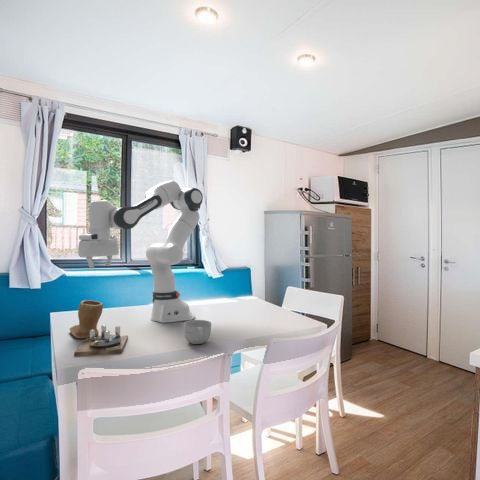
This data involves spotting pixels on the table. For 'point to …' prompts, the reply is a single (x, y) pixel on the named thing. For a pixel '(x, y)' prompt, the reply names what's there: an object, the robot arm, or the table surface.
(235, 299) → the table surface
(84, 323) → the tan boot
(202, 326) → the teacup
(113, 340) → the grey pegged disc
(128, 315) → the table surface
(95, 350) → the stand board
